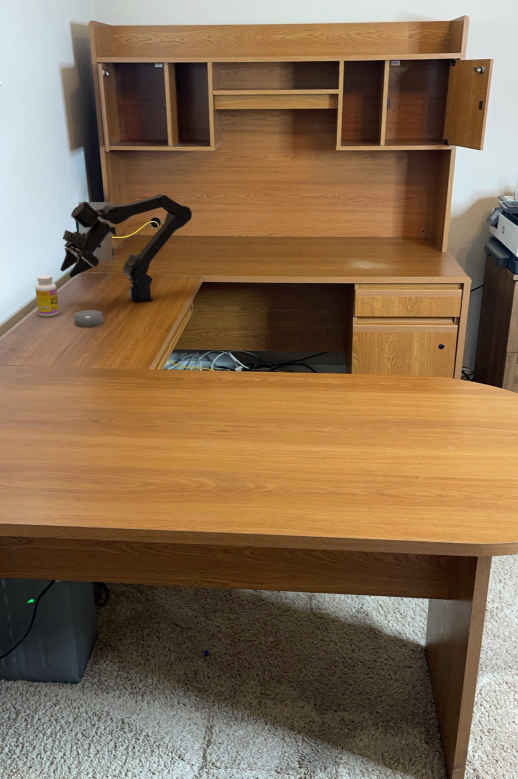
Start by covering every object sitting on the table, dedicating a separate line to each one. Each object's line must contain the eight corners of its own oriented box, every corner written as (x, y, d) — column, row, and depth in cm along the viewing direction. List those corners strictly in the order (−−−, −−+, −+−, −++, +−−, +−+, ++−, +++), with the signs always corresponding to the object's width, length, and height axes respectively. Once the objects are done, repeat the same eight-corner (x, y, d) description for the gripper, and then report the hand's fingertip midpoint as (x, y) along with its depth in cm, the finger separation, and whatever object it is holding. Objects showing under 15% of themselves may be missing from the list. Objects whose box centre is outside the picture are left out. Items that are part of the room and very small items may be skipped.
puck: (99, 317, 234) (98, 308, 233) (106, 325, 227) (105, 316, 225) (72, 320, 231) (71, 312, 229) (77, 329, 223) (76, 319, 222)
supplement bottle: (53, 317, 234) (49, 279, 228) (35, 316, 235) (30, 278, 230) (62, 311, 240) (58, 274, 234) (44, 310, 241) (40, 273, 236)
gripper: (67, 216, 239) (38, 253, 238) (86, 225, 224) (55, 264, 223) (91, 237, 246) (63, 273, 245) (111, 247, 231) (82, 285, 230)
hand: (65, 273), depth 235 cm, fingers open, 9 cm apart
